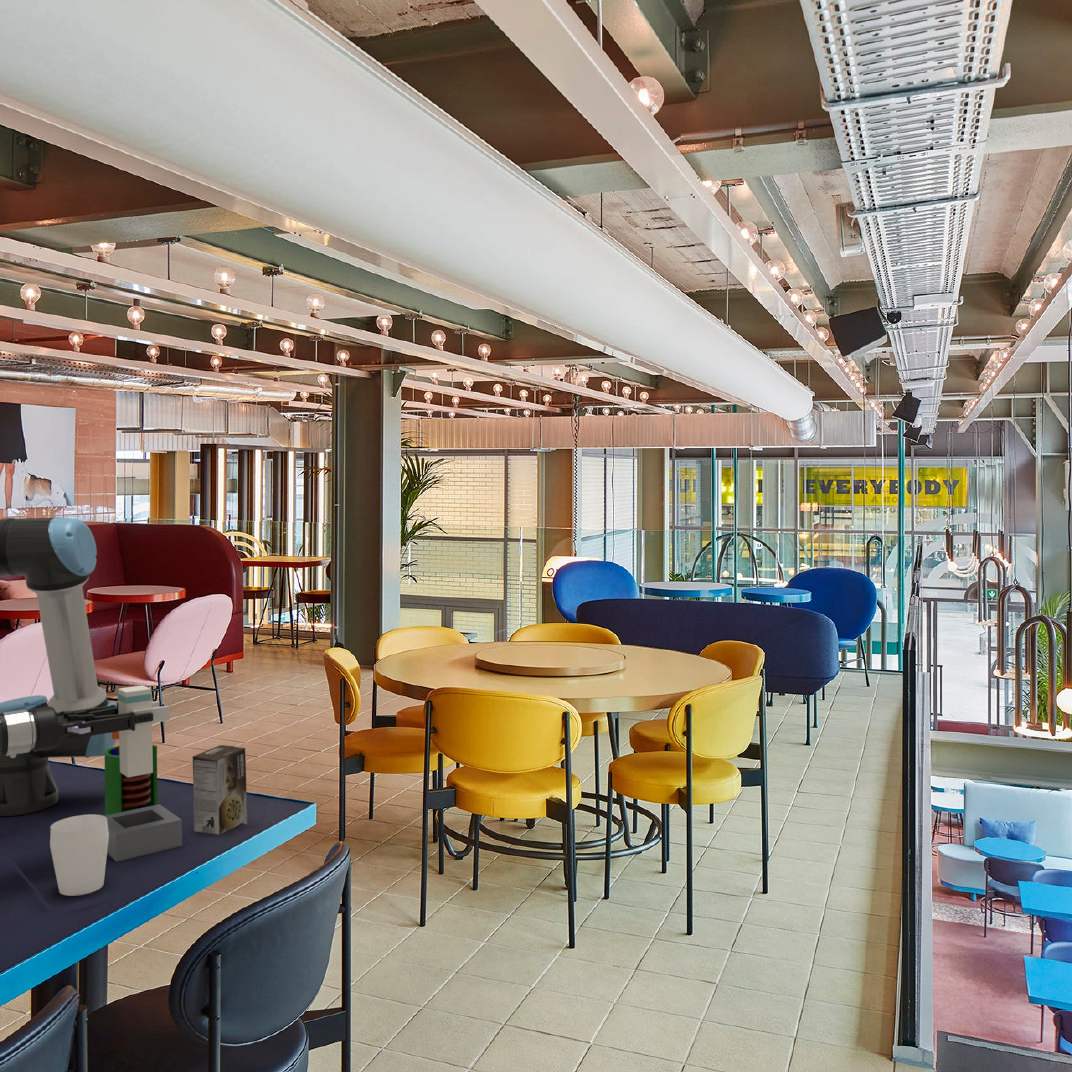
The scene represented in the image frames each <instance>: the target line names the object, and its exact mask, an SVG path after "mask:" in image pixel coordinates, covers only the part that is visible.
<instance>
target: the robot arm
mask: <svg viewBox="0 0 1072 1072" xmlns="http://www.w3.org/2000/svg"><path fill="white" fill-rule="evenodd" d="M97 553H98V550H97V543H96V540H95V537H94V535H93V533H92V530H91V529H90V527H89V526H88V525H87V524H86V523H84V521H82V520H80V519H78V518H68V517H67V518H66V517H61V516H56V517H26V518H25V517H22V518H21V517H19V518H15V517H4V518H0V577H6V576H22V577H23V576H24V579H25V585H26V588H27V589H28V590H30V591H31V592H33V593H35V594H36V599H37V603H38V610H39V614H40V617H39V618H40V622H41V628H42V633H43V638H44V645H45V649H46V656H47V662H48V663H47V664H48V668H49V673H50V674H49V675H50V679H51V685H52V692H53V695H52V696H51V697H50V698H49V699H47V696H45V695H29V696H24V697H19V698H17V697H16V698H13V699H9V700H6V701H1V702H0V817H12V816H18V815H20V816H21V815H27V814H30V813H35V812H39V811H42V810H45V809H48V808H50V807H52V806H54V805H55V804H57V803H58V802H59V788H58V786H57V784H56V782H55V780H54V776H53V774H52V772H51V769H50V767H49V765H50V764H49V758H50V759H51V758H56V759H57V758H58V759H59V758H86V759H89V758H92V757H105V754H104V753H105V751H106V750H108V749H110V748H113V747H115V744H116V742H117V739H112V732H118V731H124V730H132V731H134V730H135V726H137V725H144V724H150V723H152V724H155V723H161V722H168V721H170V717H171V716H170V705H164V706H160V701H159V700H157V701H151V703H152V708H149V709H142V710H136V711H133V712H130V713H124V714H119V711H118V702H114V701H110V702H109V700H108V694H107V691H106V690H105V689H104V688H102V687H100V686H99V685H98V681H97V674H96V667H95V661H94V660H95V659H94V653H93V647H92V641H91V635H90V628H89V623H88V622H89V621H88V620H89V619H88V616H87V607H86V602H85V596H84V590H83V589H84V588H83V586H84V585H85V584H86V583H87V582H88V581H89V580H90V579H89V578H90V574H92V573H93V572H94V570H95V569H96V565H97V561H98V559H97V558H96V557H97V555H98V554H97Z"/></svg>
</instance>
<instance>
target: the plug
mask: <svg viewBox="0 0 1072 1072" xmlns="http://www.w3.org/2000/svg"><path fill="white" fill-rule="evenodd" d="M152 696H153V695H152V688H149V687H147V686H145V685H136V686H128V687H120V688H117V701H118V702H117V703H118V711H119V714H124V713H130V712H133V711H136V710H142V709H149V708H152V703H151V702H152V701H153V699H152V698H153V697H152ZM118 742H119V743H118V746H119V753H120V772H121V773H122V774H124V775H125V776H126V777H133V776H138V775H144V774H149V773H153V747H152V745H153V723H150V724H144V725H137V726H135V730H134V731H132V730H124V731H119V739H118Z"/></svg>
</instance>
